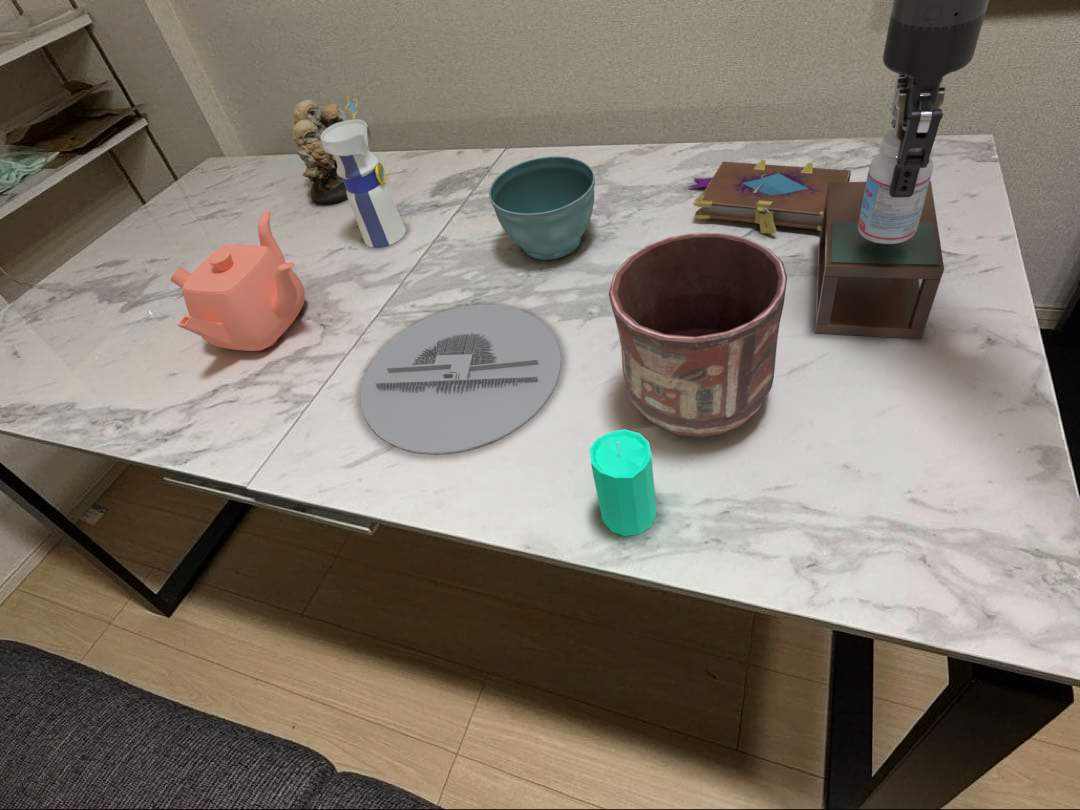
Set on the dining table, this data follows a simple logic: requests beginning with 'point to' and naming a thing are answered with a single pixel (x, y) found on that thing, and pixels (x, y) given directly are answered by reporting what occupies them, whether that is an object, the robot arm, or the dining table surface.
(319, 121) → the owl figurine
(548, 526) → the dining table surface
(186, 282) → the teapot
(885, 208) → the pill bottle
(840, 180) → the book
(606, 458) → the candle
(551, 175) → the flower pot
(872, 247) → the stand
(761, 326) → the pottery
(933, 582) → the dining table surface
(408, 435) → the plate
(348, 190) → the water bottle
